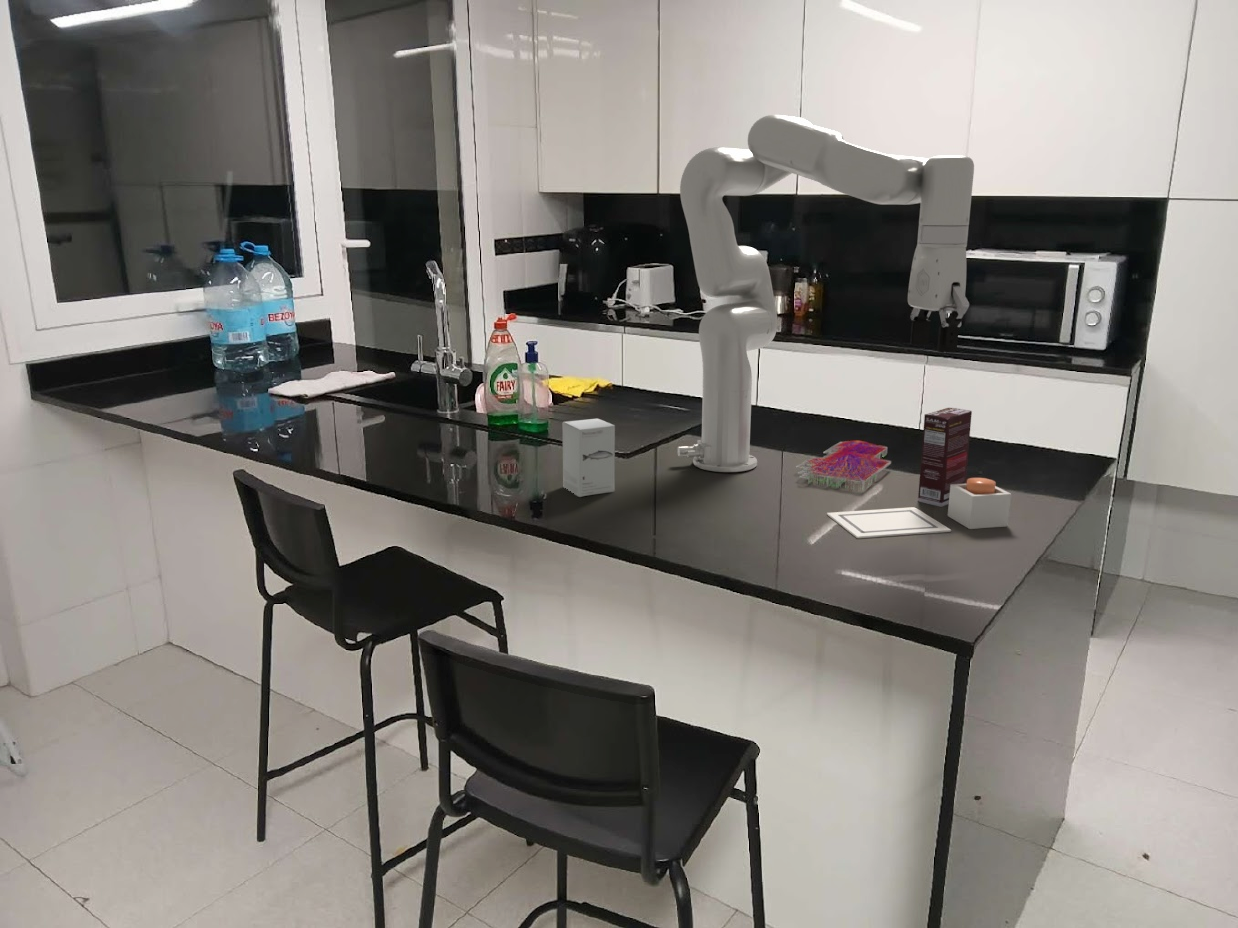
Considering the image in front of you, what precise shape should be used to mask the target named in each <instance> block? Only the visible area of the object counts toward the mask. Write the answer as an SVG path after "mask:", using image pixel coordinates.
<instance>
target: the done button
mask: <svg viewBox="0 0 1238 928" xmlns="http://www.w3.org/2000/svg"><path fill="white" fill-rule="evenodd" d="M966 483H967V485H966V490H967V491H969V492H971V493H972V494H974V495H977V494H993V493H995V486H996V483H997V482H996V481H995V480H994V479H989V478H986V477H970V478H966Z"/></svg>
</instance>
